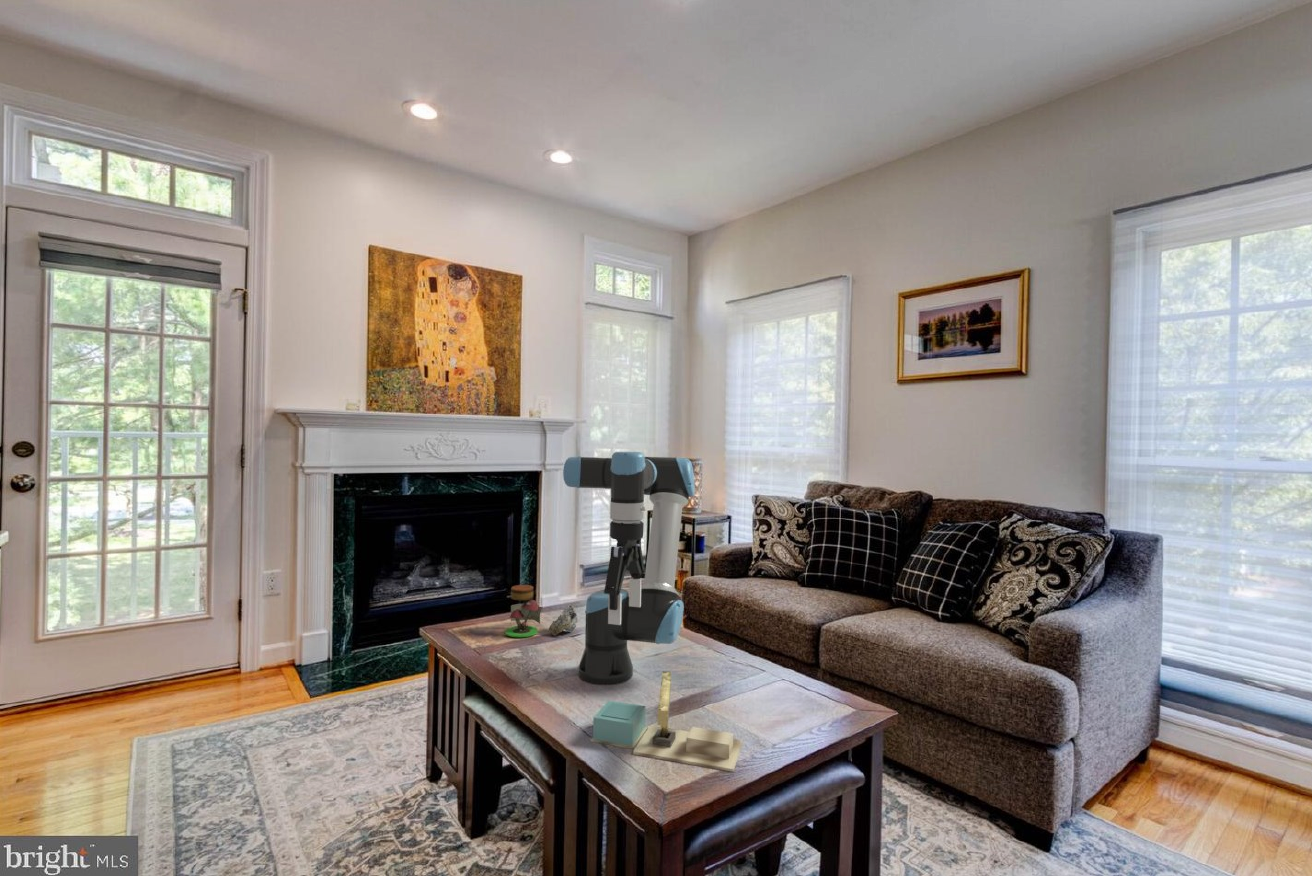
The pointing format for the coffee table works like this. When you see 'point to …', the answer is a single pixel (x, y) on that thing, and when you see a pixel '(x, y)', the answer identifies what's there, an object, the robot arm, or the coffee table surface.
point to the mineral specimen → (564, 621)
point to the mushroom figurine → (523, 612)
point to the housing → (691, 747)
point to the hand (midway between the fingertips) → (625, 614)
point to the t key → (664, 703)
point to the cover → (619, 723)
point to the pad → (620, 744)
